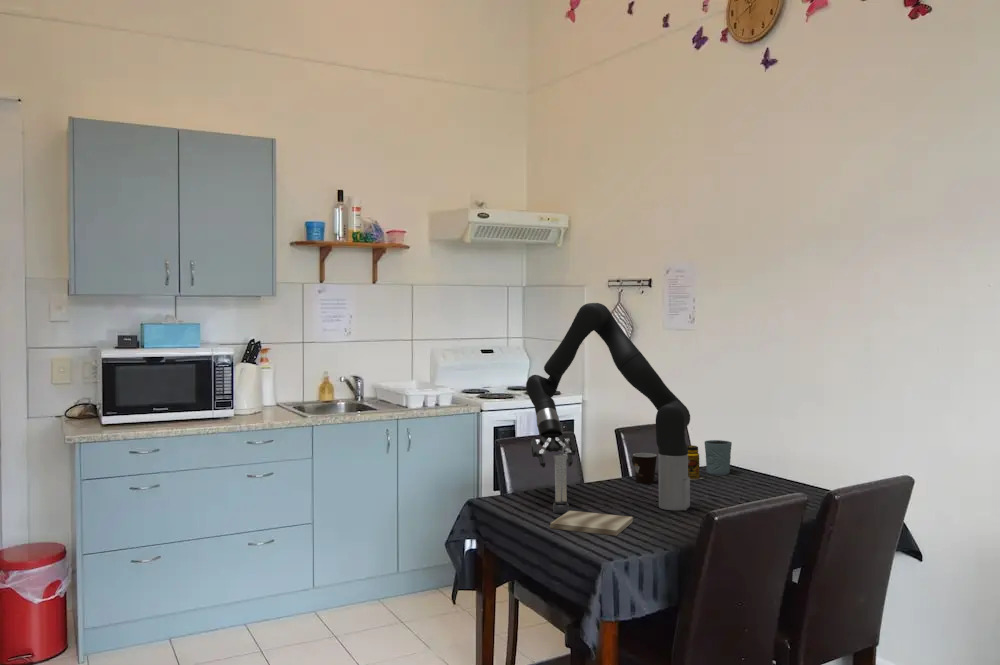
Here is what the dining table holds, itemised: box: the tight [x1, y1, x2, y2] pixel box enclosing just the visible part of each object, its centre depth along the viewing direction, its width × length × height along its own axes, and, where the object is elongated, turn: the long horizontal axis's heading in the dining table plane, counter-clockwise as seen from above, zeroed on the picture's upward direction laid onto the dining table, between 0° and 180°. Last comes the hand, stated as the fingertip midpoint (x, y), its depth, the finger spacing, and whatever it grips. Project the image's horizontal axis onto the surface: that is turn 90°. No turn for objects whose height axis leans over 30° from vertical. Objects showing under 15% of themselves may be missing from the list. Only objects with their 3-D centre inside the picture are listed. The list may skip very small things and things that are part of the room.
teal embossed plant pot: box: [704, 439, 732, 476], centre depth 308 cm, size 10×10×12 cm
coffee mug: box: [631, 452, 658, 485], centre depth 294 cm, size 12×9×10 cm
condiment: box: [687, 444, 704, 481], centre depth 300 cm, size 7×8×12 cm
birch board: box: [549, 510, 634, 536], centre depth 235 cm, size 20×16×2 cm
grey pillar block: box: [552, 453, 570, 515], centre depth 250 cm, size 5×5×18 cm
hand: (557, 465), depth 255 cm, fingers open, 8 cm apart
